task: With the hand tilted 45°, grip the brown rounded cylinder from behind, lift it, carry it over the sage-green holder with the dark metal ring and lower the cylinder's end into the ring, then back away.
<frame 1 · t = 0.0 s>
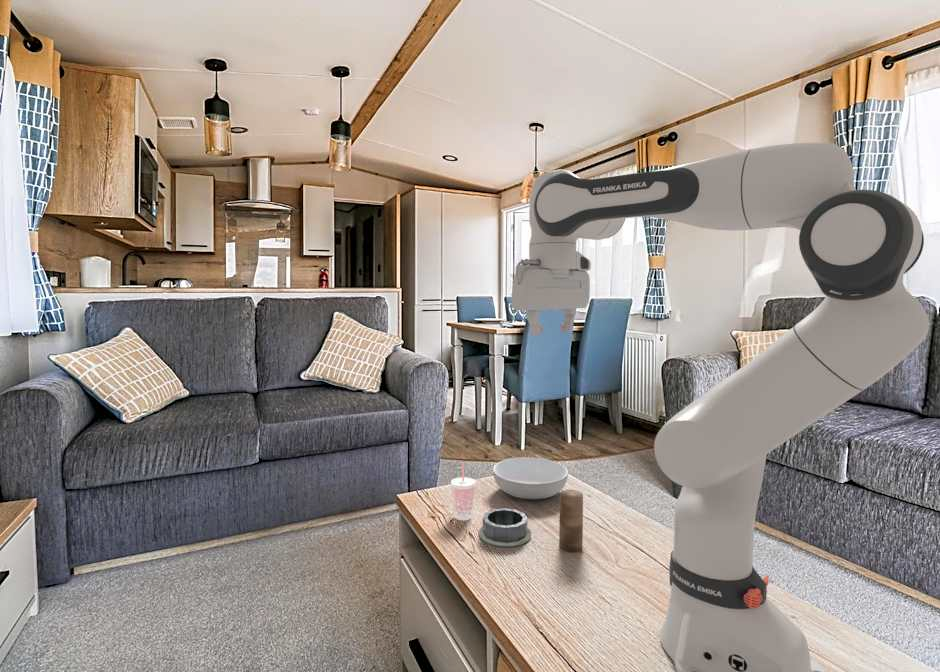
hand: (551, 333, 98), 48 cm above the table, fingers open, 8 cm apart
serving bowl: (530, 493, 144), on the table
brown rounded cylinder: (570, 546, 113), on the table
cup holder: (505, 534, 119), on the table
beverage cup: (463, 517, 129), on the table
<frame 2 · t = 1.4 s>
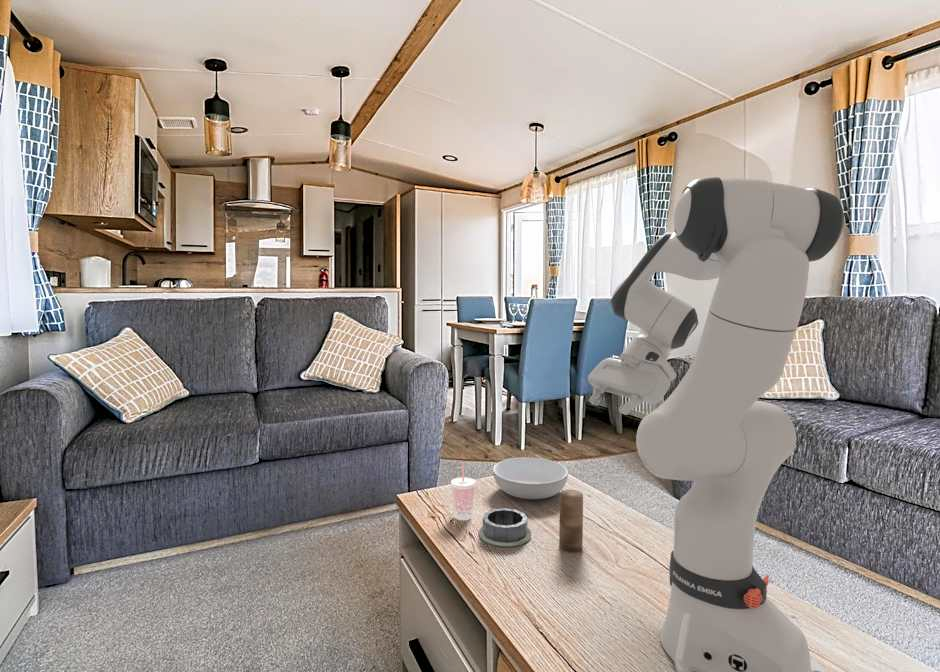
hand: (606, 407, 114), 30 cm above the table, fingers open, 8 cm apart
nothing on the table moved.
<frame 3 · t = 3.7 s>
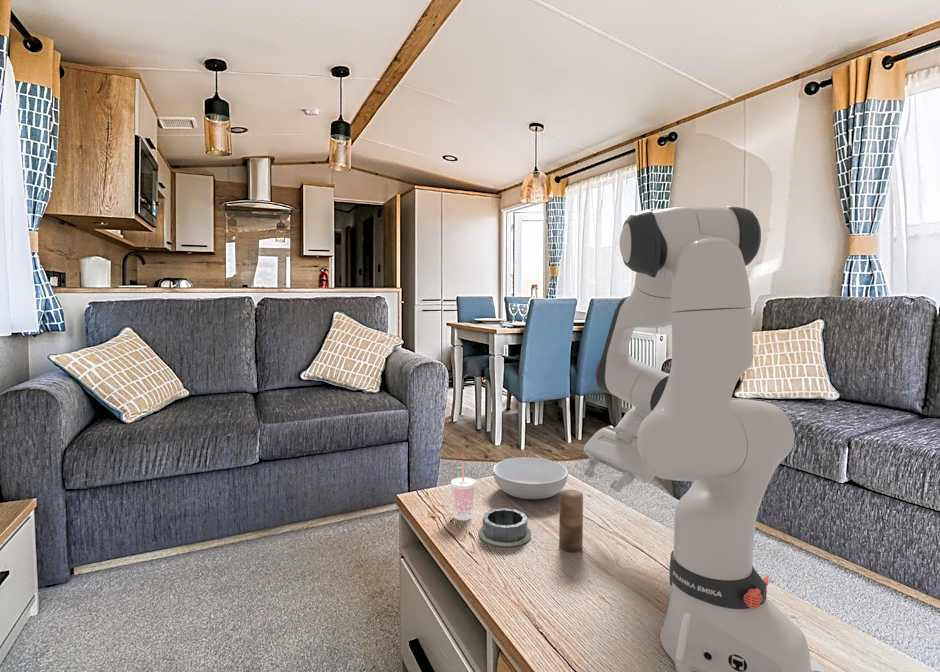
hand: (600, 482, 115), 13 cm above the table, fingers open, 8 cm apart
nothing on the table moved.
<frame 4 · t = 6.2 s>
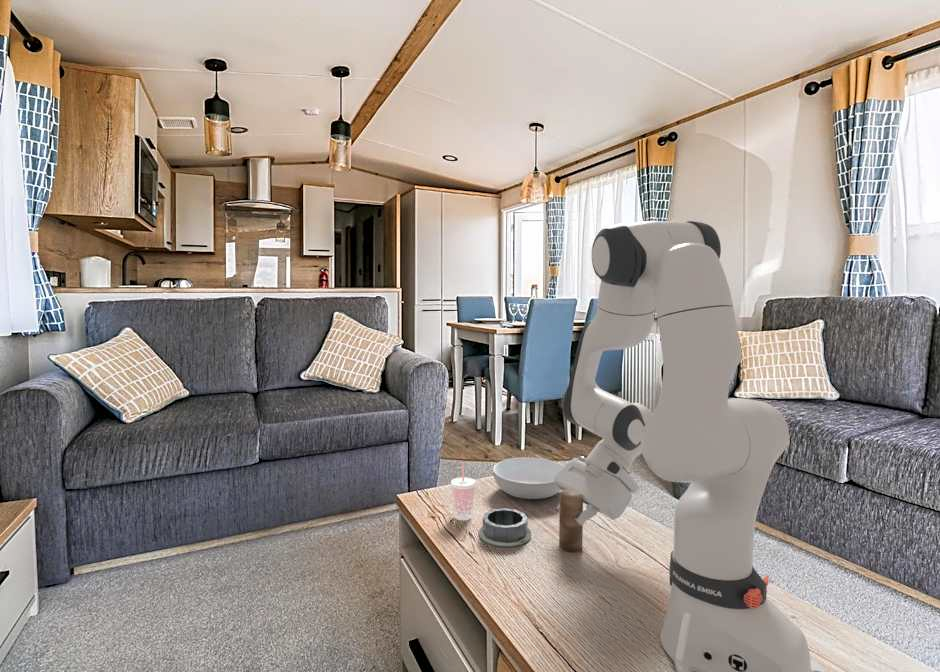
hand: (568, 517, 112), 7 cm above the table, fingers closed on brown rounded cylinder, 5 cm apart
brown rounded cylinder: (570, 546, 113), on the table, touching gripper
everything else where it was.
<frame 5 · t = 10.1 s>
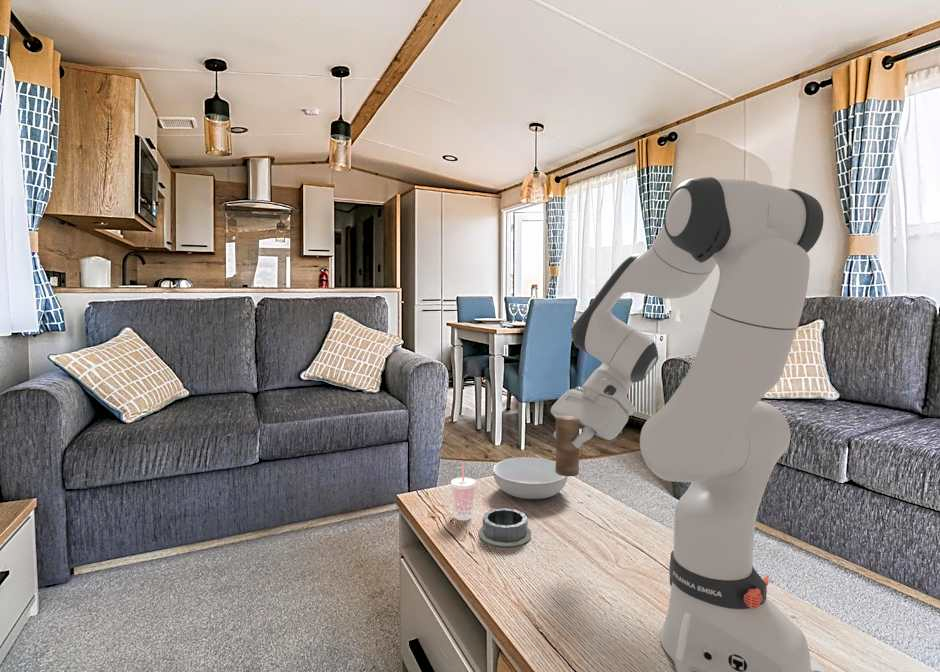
hand: (564, 441, 111), 23 cm above the table, fingers closed on brown rounded cylinder, 5 cm apart
brown rounded cylinder: (567, 472, 112), point 17 cm above the table, touching gripper
everything else where it was.
when the fingers open (8 cm above the table, at t = 14.0 s): brown rounded cylinder stays where it is, resting on cup holder.
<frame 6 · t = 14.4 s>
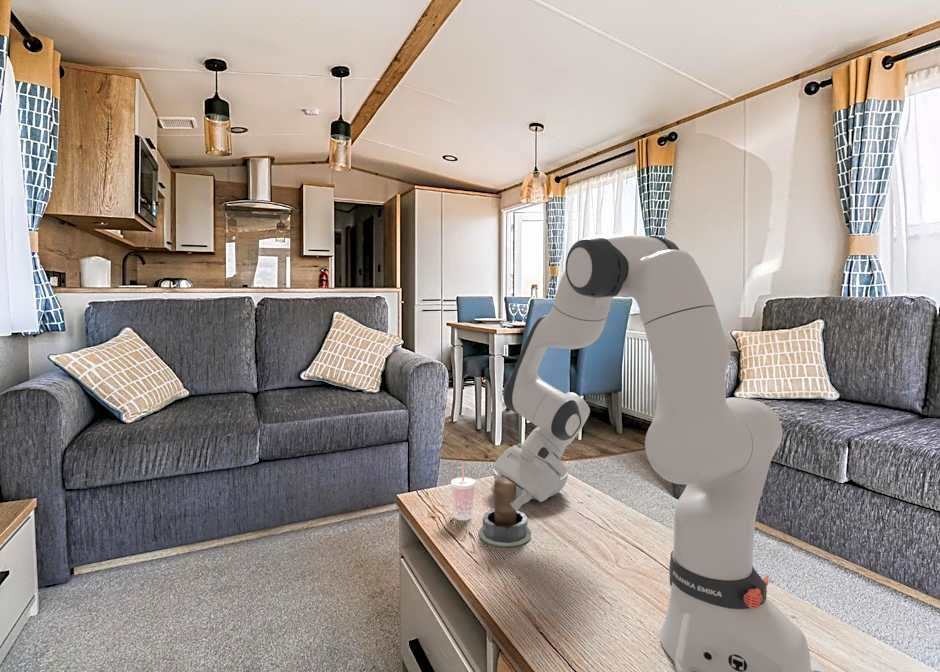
hand: (502, 500, 118), 8 cm above the table, fingers open, 8 cm apart
brown rounded cylinder: (505, 532, 119), point 1 cm above the table, touching cup holder
everything else where it was.
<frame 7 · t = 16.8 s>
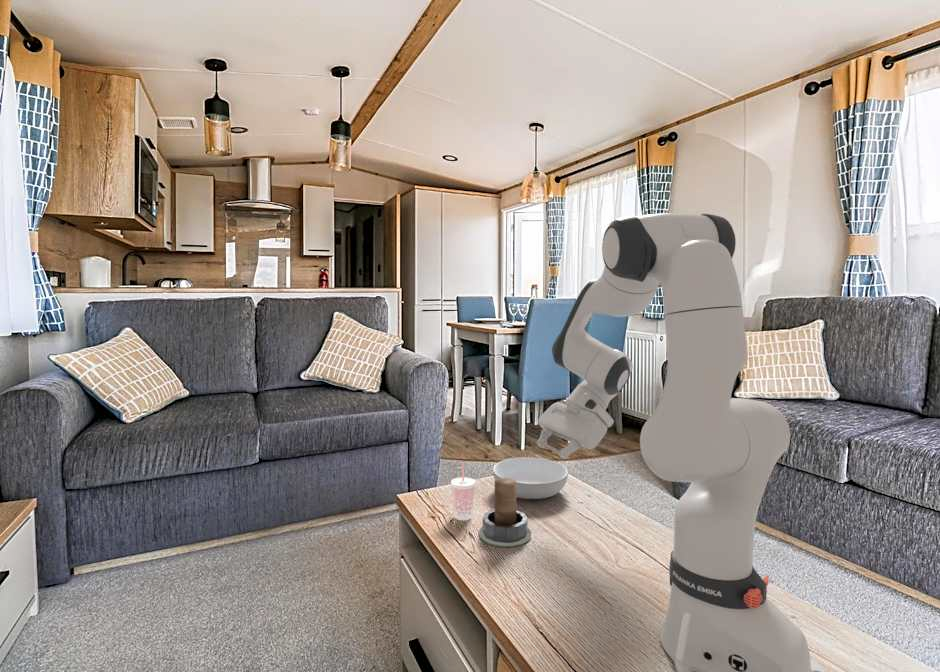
hand: (550, 451, 122), 18 cm above the table, fingers open, 8 cm apart
nothing on the table moved.
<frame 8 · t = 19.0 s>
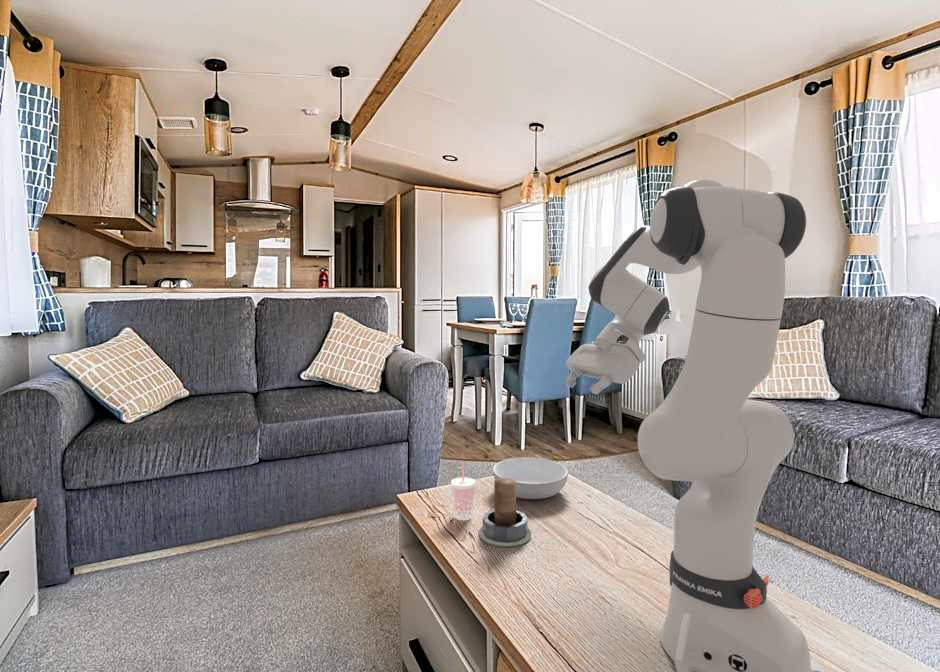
hand: (580, 388, 120), 33 cm above the table, fingers open, 8 cm apart
nothing on the table moved.
at the end: brown rounded cylinder 0.1 cm off-centre on the cup holder, point 0.6 cm above the cup holder's base; brown rounded cylinder tilted 0°; the gripper is holding nothing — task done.
